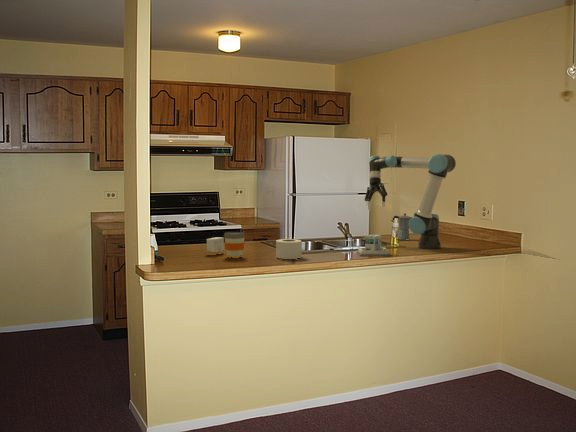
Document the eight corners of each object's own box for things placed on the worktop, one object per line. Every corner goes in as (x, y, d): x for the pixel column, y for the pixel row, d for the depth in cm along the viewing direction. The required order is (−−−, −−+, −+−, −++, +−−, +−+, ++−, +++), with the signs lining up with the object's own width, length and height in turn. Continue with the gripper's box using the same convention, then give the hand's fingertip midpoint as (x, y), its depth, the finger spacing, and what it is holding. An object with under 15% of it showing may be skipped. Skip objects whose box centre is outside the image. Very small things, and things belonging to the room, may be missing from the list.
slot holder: (385, 251, 405) (385, 247, 404) (390, 256, 386) (390, 251, 385) (356, 251, 405) (356, 247, 404) (359, 256, 386) (359, 251, 385)
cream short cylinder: (306, 258, 379) (306, 240, 378) (287, 260, 368) (287, 242, 368) (289, 255, 390) (289, 238, 389) (270, 257, 380) (270, 240, 379)
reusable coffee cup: (221, 256, 385) (221, 232, 384) (241, 255, 390) (240, 231, 389) (227, 259, 373) (227, 234, 372) (247, 258, 378) (247, 233, 377)
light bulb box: (374, 253, 389) (374, 236, 388) (364, 253, 392) (364, 235, 391) (381, 251, 398) (381, 234, 397) (371, 250, 401) (371, 234, 400)
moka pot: (413, 240, 463) (413, 213, 461) (392, 240, 466) (392, 213, 464) (413, 239, 472) (413, 212, 470) (392, 239, 475) (392, 212, 473)
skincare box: (216, 253, 401) (215, 236, 400) (224, 253, 398) (224, 237, 397) (206, 255, 392) (206, 238, 391) (214, 255, 389) (214, 239, 388)
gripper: (392, 175, 421) (393, 205, 417) (367, 183, 441) (367, 212, 437) (383, 173, 417) (384, 204, 412) (358, 181, 437) (359, 211, 432)
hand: (376, 208), depth 424 cm, fingers open, 13 cm apart
